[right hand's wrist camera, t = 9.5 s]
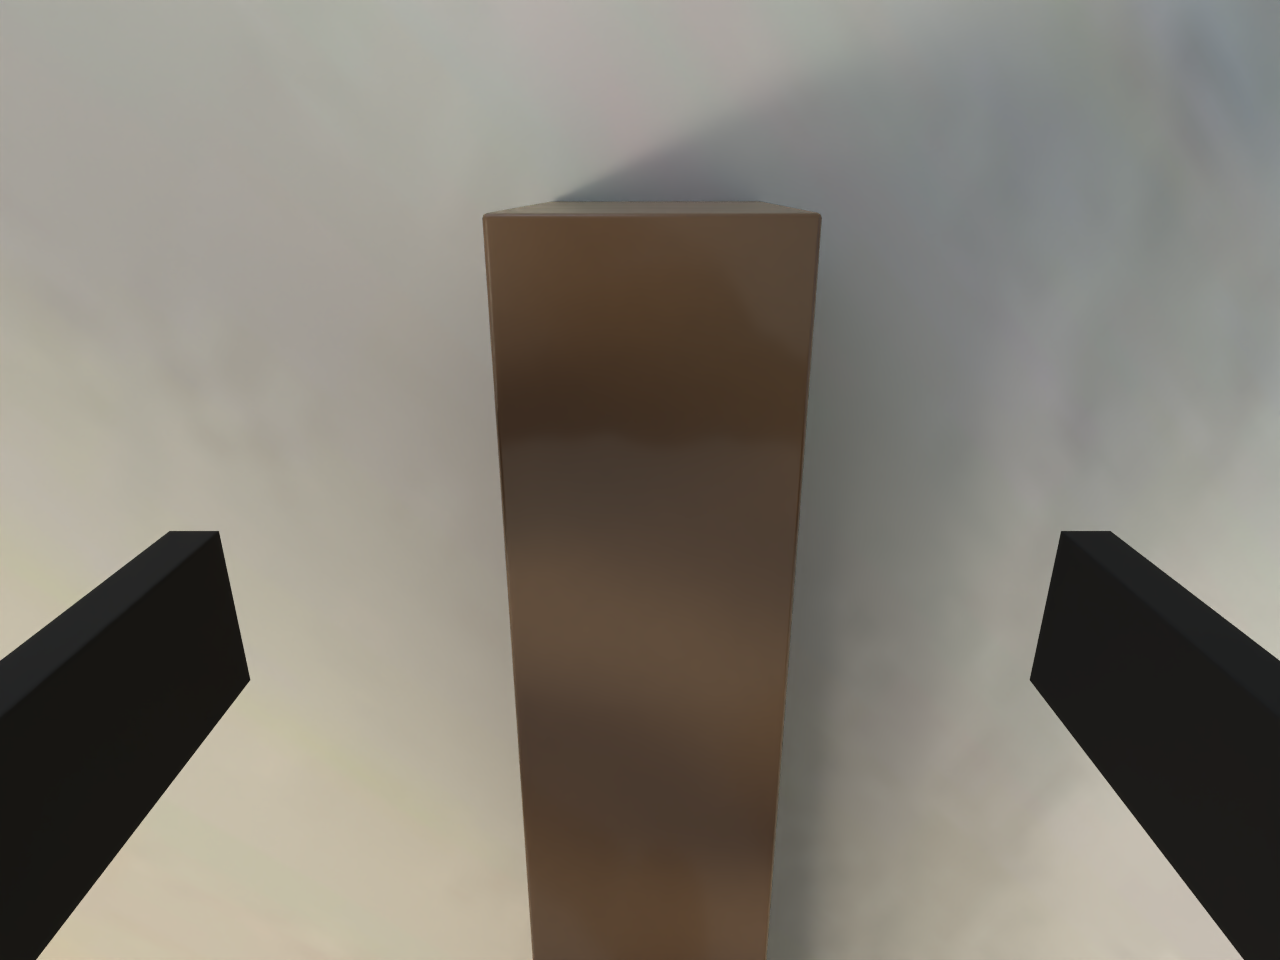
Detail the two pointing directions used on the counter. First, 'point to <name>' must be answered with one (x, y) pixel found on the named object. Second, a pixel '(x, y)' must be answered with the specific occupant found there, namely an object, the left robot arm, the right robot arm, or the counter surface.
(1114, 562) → the right robot arm
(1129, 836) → the counter surface
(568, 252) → the bar
